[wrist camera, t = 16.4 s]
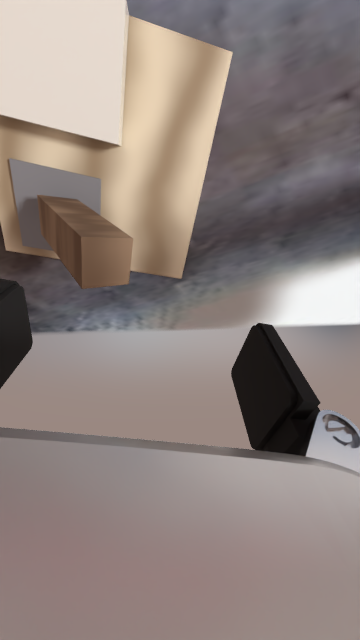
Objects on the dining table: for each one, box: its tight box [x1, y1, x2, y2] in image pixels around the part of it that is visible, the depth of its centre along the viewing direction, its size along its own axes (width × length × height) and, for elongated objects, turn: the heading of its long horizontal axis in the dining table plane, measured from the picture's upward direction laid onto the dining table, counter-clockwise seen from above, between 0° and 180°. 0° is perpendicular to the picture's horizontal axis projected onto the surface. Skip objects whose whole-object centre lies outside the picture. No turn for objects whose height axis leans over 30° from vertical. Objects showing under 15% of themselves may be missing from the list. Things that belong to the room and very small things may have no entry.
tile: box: [0, 0, 129, 146], centre depth 18 cm, size 2×8×12 cm
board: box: [0, 16, 233, 279], centre depth 23 cm, size 20×20×1 cm
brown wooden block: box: [37, 195, 133, 289], centre depth 20 cm, size 4×4×12 cm
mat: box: [9, 158, 101, 251], centre depth 24 cm, size 8×8×1 cm
